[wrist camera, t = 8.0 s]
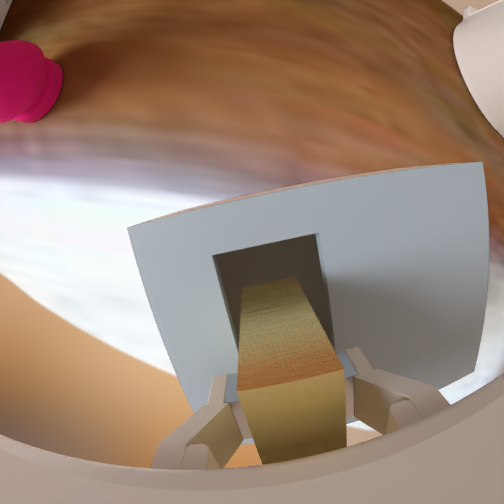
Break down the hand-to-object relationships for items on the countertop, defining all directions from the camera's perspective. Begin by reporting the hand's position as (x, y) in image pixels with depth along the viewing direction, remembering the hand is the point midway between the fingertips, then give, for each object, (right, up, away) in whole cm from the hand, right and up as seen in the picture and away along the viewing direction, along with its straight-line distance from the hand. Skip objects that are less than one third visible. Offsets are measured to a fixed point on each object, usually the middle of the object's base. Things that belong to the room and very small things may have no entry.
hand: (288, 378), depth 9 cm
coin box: (+3, +3, +12) cm, 13 cm away
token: (0, 0, +2) cm, 2 cm away
